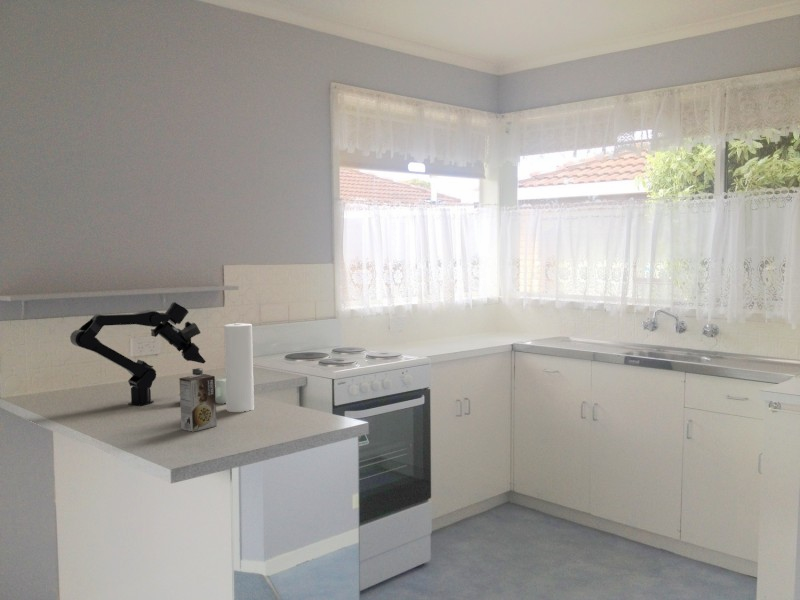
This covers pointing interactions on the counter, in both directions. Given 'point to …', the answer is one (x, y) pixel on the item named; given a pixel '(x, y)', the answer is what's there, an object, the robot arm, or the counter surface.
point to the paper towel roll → (239, 367)
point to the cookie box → (198, 402)
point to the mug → (220, 391)
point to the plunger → (197, 371)
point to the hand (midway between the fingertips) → (201, 358)
